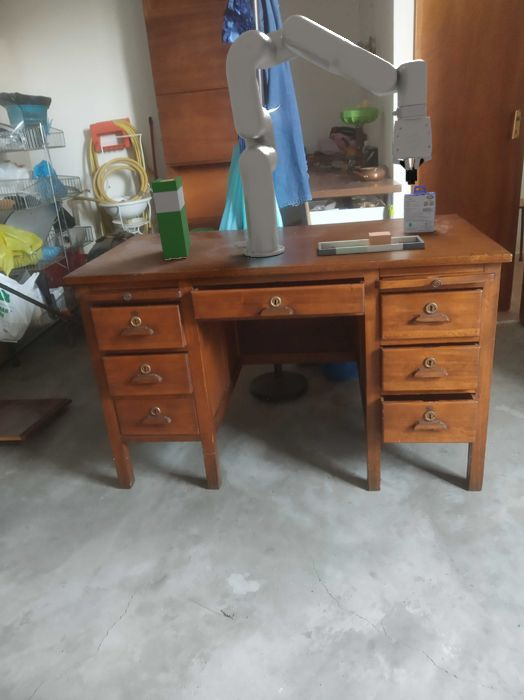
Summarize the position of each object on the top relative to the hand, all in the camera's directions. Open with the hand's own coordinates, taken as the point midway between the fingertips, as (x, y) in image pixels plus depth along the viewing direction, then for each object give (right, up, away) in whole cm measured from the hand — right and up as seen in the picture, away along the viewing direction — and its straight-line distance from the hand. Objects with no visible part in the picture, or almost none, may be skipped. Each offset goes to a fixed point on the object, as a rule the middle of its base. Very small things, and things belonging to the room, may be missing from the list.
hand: (411, 184), depth 145 cm
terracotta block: (-7, -16, +8) cm, 19 cm away
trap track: (-10, -17, +8) cm, 21 cm away
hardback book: (-70, -15, +28) cm, 77 cm away
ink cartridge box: (+10, -8, +25) cm, 28 cm away
